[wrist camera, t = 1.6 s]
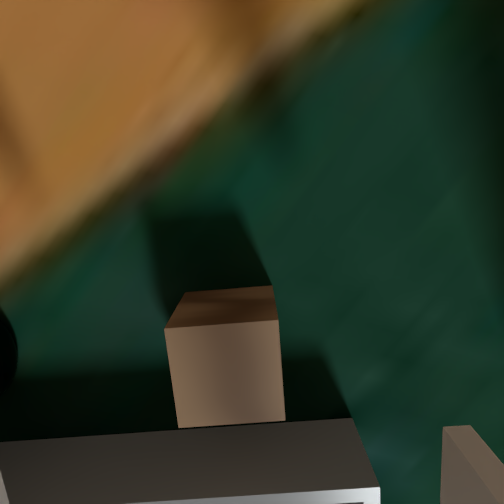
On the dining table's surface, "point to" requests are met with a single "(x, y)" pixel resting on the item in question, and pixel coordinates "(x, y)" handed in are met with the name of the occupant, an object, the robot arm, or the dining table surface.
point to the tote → (196, 466)
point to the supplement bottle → (7, 358)
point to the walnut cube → (226, 357)
